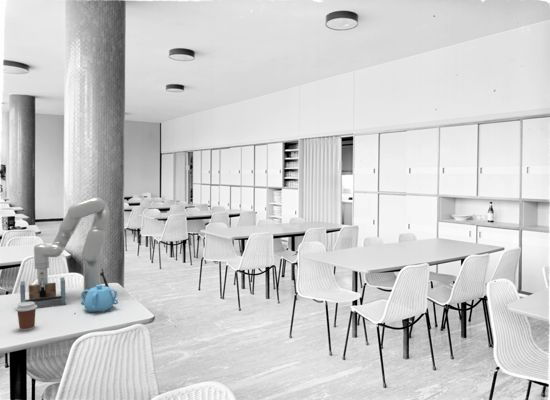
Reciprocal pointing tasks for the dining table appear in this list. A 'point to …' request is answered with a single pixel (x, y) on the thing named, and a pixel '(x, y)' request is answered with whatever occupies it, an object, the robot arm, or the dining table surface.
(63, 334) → the dining table surface
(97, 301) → the decorative pot
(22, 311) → the coffee cup
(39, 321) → the dining table surface
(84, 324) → the dining table surface
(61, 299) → the door track
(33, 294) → the brown rectangular block
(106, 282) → the phone stand
